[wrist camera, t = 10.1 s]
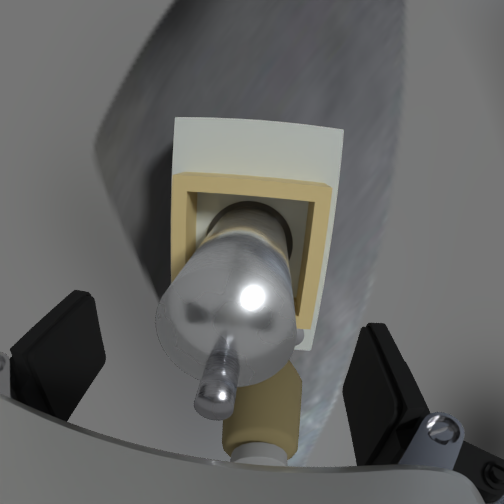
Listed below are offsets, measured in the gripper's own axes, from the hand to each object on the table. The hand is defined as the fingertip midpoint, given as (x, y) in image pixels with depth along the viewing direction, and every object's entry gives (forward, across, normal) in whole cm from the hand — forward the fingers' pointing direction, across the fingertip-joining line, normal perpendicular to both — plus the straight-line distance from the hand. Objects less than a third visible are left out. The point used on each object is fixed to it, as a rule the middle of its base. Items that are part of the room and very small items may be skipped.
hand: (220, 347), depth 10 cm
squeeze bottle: (+20, -2, +17) cm, 26 cm away
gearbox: (+20, 0, +1) cm, 20 cm away
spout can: (+14, 0, +1) cm, 14 cm away
